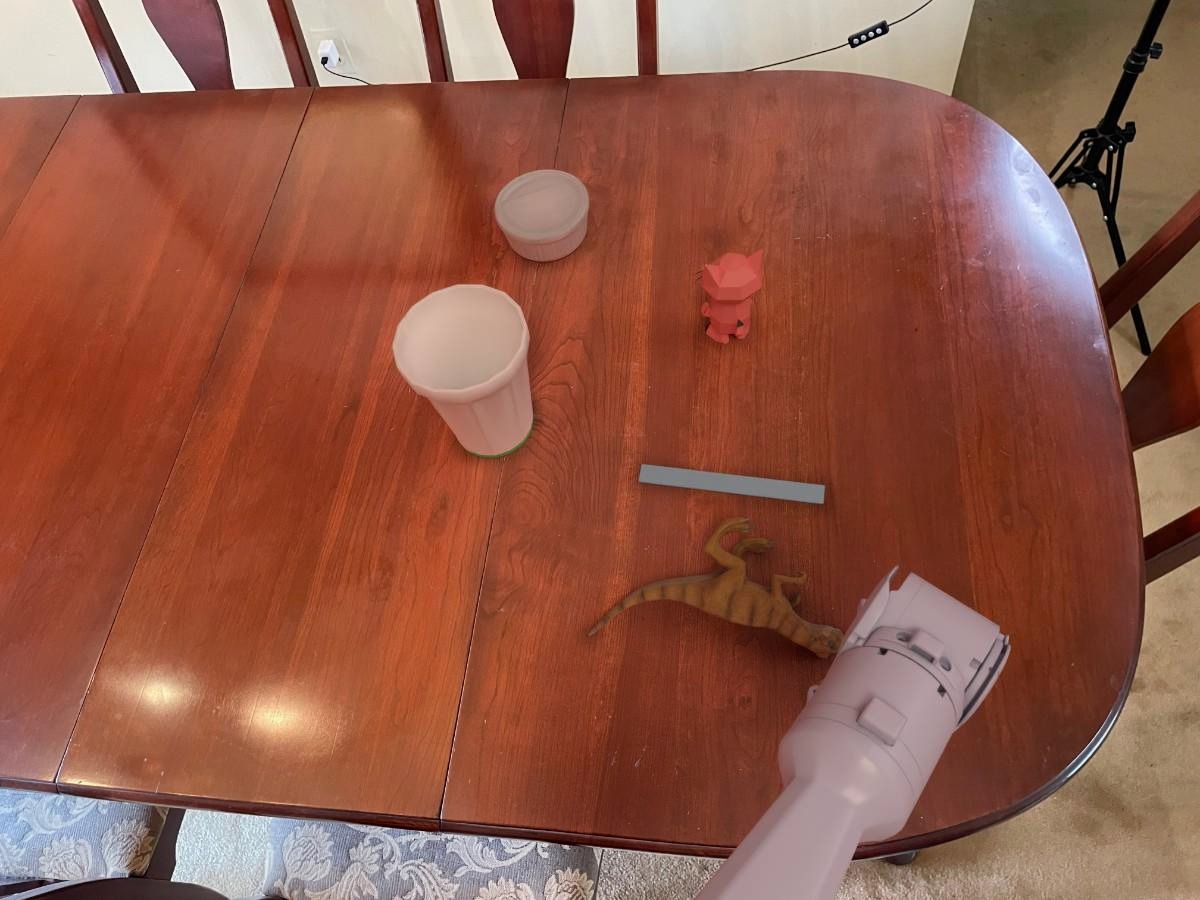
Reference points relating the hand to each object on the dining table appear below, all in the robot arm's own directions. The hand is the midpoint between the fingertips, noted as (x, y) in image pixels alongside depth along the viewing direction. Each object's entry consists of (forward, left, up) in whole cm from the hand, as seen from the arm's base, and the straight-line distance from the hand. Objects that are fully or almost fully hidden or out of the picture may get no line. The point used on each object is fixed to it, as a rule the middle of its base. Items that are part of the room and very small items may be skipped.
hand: (850, 739), depth 61 cm
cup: (+40, +23, -11) cm, 47 cm away
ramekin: (+65, +13, -11) cm, 67 cm away
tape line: (+27, +1, -10) cm, 29 cm away
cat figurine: (+45, -4, -11) cm, 46 cm away
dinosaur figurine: (+16, +5, -11) cm, 20 cm away
